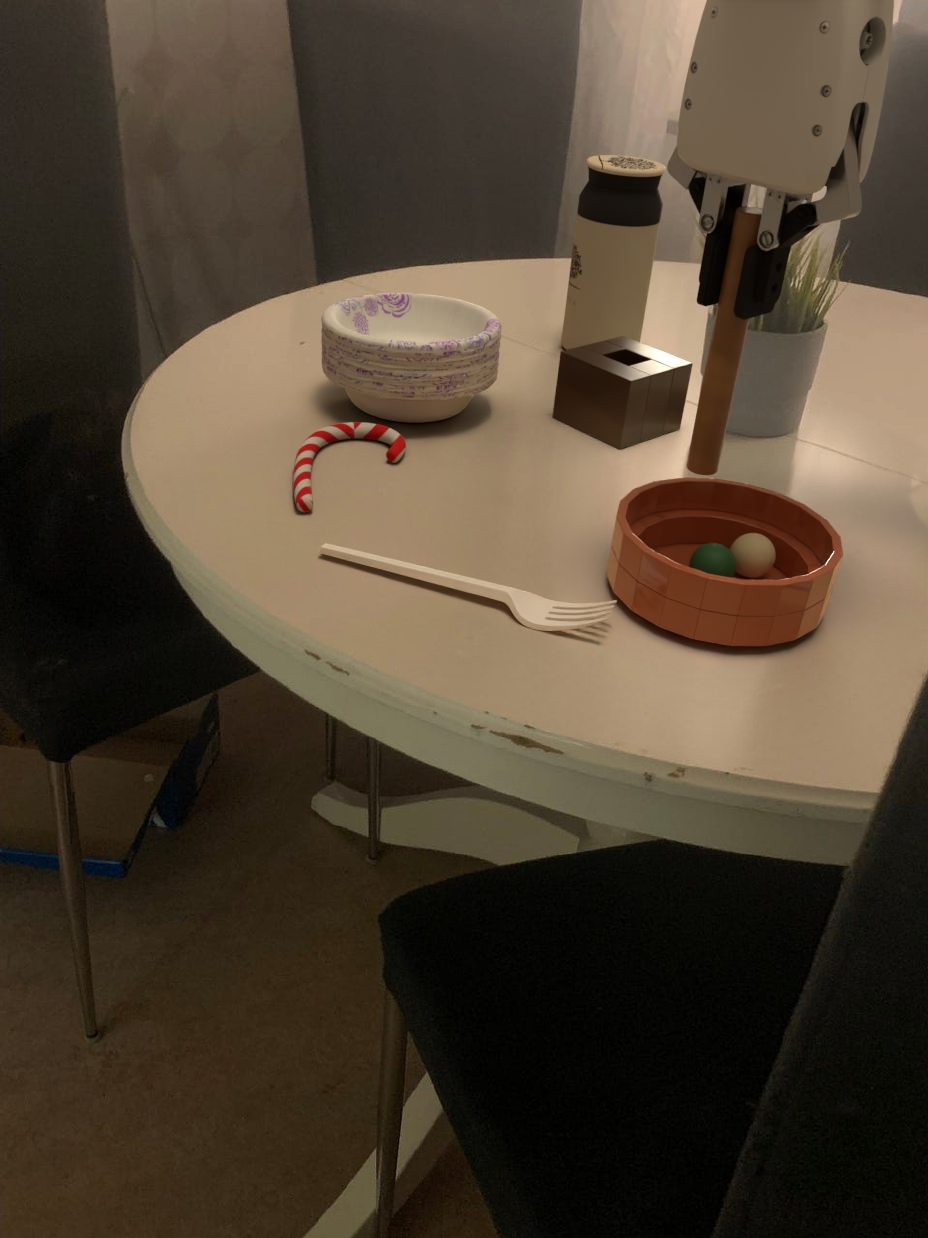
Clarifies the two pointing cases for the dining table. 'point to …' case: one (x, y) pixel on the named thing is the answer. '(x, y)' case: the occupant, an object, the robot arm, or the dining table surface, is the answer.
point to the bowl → (720, 513)
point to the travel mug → (613, 250)
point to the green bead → (714, 560)
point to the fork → (488, 592)
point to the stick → (723, 352)
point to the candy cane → (333, 434)
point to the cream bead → (753, 555)
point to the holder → (621, 391)
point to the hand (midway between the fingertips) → (734, 305)
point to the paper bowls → (410, 353)
